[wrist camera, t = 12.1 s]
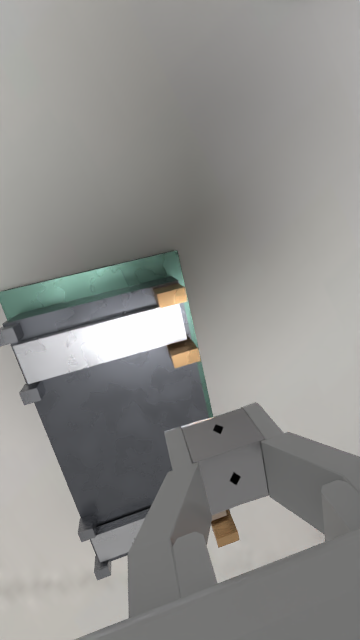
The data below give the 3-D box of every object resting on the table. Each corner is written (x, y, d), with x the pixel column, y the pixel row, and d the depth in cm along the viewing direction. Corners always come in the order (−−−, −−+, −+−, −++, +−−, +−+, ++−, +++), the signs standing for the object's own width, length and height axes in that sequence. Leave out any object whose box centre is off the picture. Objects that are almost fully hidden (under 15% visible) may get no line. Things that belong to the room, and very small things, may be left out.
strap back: (91, 529, 26) (90, 537, 25) (218, 483, 28) (221, 490, 27) (100, 553, 27) (100, 562, 26) (223, 508, 29) (226, 515, 28)
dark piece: (1, 291, 24) (-44, 307, 18) (175, 250, 26) (193, 251, 20) (99, 539, 32) (93, 615, 25) (228, 493, 34) (254, 552, 27)
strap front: (16, 342, 21) (12, 346, 20) (176, 300, 23) (178, 302, 22) (31, 379, 22) (28, 384, 21) (184, 336, 24) (187, 339, 23)
